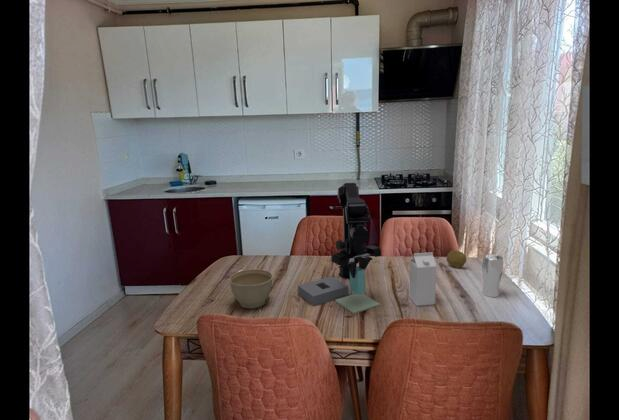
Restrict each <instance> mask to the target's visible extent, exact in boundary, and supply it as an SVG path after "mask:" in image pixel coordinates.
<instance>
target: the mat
mask: <svg viewBox="0 0 619 420" xmlns="http://www.w3.org/2000/svg"><path fill="white" fill-rule="evenodd" d="M334 301H335V303H337V304H339V305H340V306H341V307H342V308H345V309H346V310H347V311H349V312H350V313H351V314H352V315H353V314H354V315H355V314H359V313H361V312H364V311H367V310H370V309H374V308H376V307H379V306H381V303H380V302H378V301H376V300H374V299H373V298H371V297H369V296H367V295H366V294H365V293H363V294H359V295H358V294H356V293H353V294H350V295H349V296H346V297H343V298H339V299H336V300H334Z"/></svg>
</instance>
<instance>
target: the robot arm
mask: <svg viewBox="0 0 619 420" xmlns="http://www.w3.org/2000/svg"><path fill="white" fill-rule="evenodd" d="M337 199H338V201H339V204H340V205H341V207H342V216H343V217H342V219H343V221H342V223H343V225H342V227H343V229H342V230H343V231H342V232H343V240H336V241H335V249H336V250H338V252H336V253H333V254H332V255H331V258H330V259H331V262H332V263H334V264H336V265H338V266H339V272H338V275H339V276H340V277H343V278H344V279H346V280H347V279H350V273H351V276H352V278H355V273H356V266H358V267H360V268H362V269H364V272H365V271H366V269H367V267H368V265H369V264H370V262H371V261H372V260H373V258H372V257H371V256H370V255H371V254H372V256H373V257H375V258H378V257H380V256H381V257H382V250H381V248H380V247H378V246H376V245H373V244H370V245H367V246H366V244H367V243H368V241H369V239H370V233H369V231H368V229H367V228H366V224H369V223H370V220H371V214H370V209H369V206H368V204H366V201H365V200H364V199H362V198H360V191H359V186H357V183H356V182H344V183H343V185H341V186H339V187H338V188H337ZM357 264H358V265H357Z"/></svg>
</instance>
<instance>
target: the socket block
mask: <svg viewBox="0 0 619 420" xmlns="http://www.w3.org/2000/svg"><path fill="white" fill-rule="evenodd" d="M349 290H350V287H349V285H347V284H346V283H344V282H342V281H340V279H337V278H335V277H333V276H332V275H331V276H328V277H325V278H321V279H317V280H313V281H309V282H305V283H302V284H298V285H297V292H298V293H297V295H298V296H300V297H301V298H302V299H303V300H304V301H306V302H308V303H309V305H311V306H312V307H315V306H320V305H323V304H327V303H330V302H332V301H335V300H336V299H339V298H343V297H346V296H349V293H350V291H349Z"/></svg>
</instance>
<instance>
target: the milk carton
mask: <svg viewBox="0 0 619 420" xmlns="http://www.w3.org/2000/svg"><path fill="white" fill-rule="evenodd" d="M409 265H410V266H409V269H410V270H409V299H410V300H411V301H412V302H413V303H414V304H415V306H417V307H421V306H431V305H432V306H433V305H436V292H437V289H436V288H437V287H436V285H437V263H436V260H435V258H434V252H432V251H431V252H417V253H413V257H412V258H411V259H410V264H409Z"/></svg>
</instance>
